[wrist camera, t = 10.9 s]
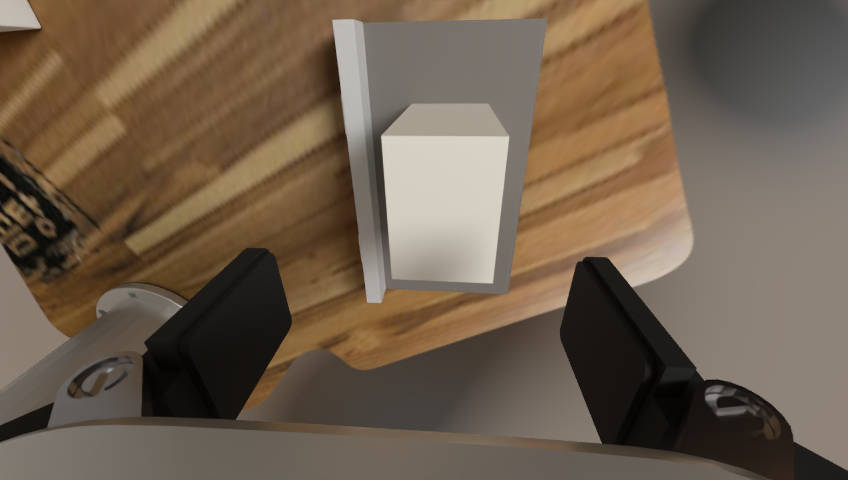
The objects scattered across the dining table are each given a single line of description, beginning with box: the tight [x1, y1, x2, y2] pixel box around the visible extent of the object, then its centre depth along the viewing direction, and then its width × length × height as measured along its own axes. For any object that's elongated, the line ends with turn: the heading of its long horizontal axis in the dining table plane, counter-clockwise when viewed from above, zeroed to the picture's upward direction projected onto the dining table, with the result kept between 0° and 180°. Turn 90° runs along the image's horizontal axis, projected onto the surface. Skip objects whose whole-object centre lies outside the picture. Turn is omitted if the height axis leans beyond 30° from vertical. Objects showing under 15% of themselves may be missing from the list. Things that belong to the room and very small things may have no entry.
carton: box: [381, 104, 509, 284], centre depth 19 cm, size 7×5×10 cm
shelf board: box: [333, 19, 547, 303], centre depth 24 cm, size 20×12×4 cm, turn 1°
